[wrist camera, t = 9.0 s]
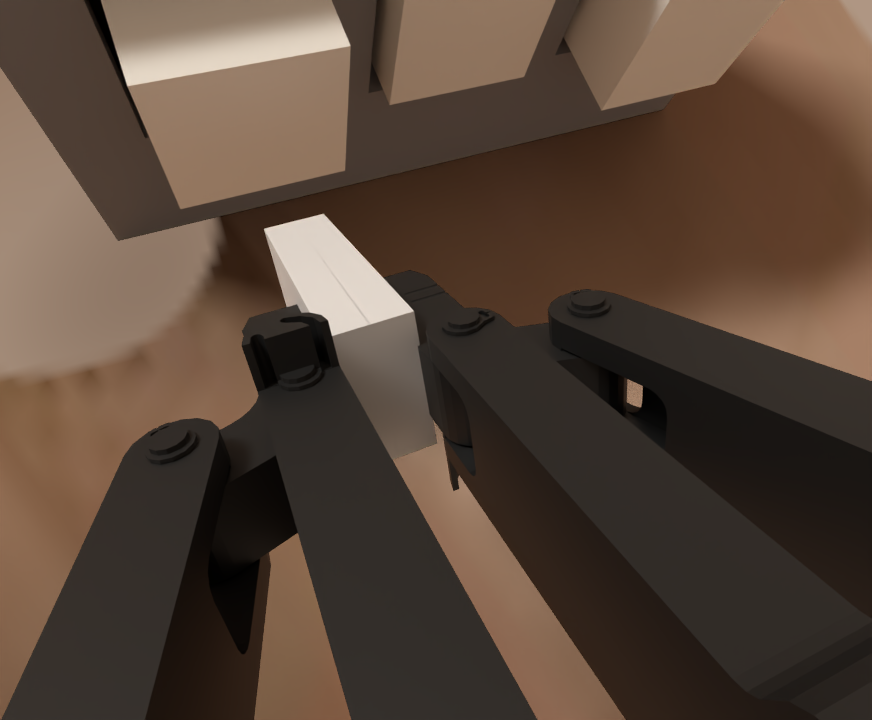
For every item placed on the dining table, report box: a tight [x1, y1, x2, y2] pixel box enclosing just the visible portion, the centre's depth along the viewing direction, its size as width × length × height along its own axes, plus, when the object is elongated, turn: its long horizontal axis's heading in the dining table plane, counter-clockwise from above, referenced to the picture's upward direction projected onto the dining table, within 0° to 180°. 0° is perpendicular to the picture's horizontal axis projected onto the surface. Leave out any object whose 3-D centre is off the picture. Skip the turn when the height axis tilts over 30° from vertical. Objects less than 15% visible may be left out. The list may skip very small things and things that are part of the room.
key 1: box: [101, 0, 351, 209], centre depth 17 cm, size 4×5×5 cm
